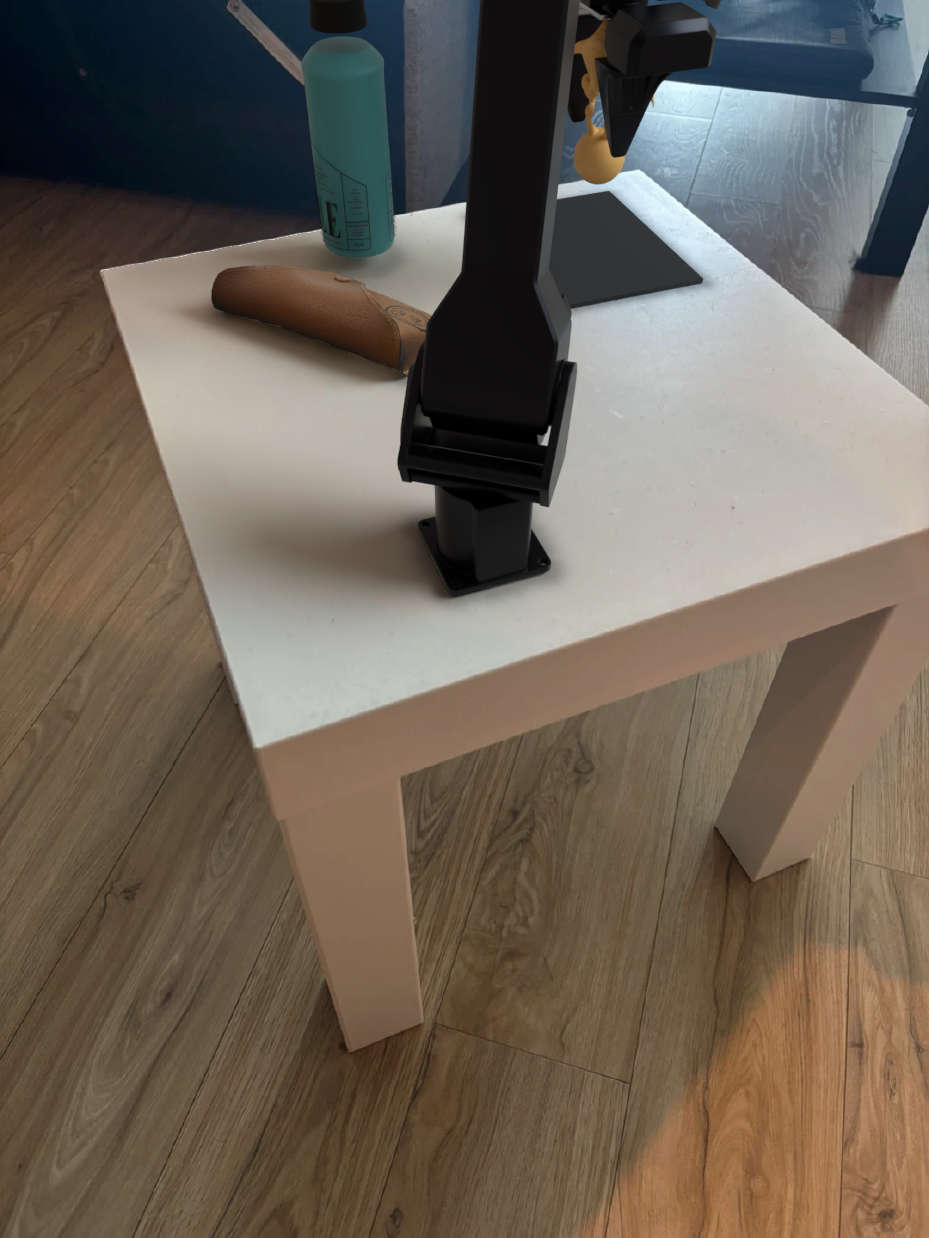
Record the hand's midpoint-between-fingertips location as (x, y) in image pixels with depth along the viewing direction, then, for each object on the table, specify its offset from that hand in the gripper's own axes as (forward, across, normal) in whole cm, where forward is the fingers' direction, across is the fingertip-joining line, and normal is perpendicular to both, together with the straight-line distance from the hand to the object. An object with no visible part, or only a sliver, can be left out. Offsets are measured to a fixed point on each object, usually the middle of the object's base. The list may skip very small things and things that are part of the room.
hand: (597, 138), depth 71 cm
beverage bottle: (+12, +10, +17) cm, 23 cm away
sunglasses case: (+12, 0, +22) cm, 25 cm away
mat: (+11, +5, -2) cm, 13 cm away
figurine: (+4, 0, 0) cm, 4 cm away
